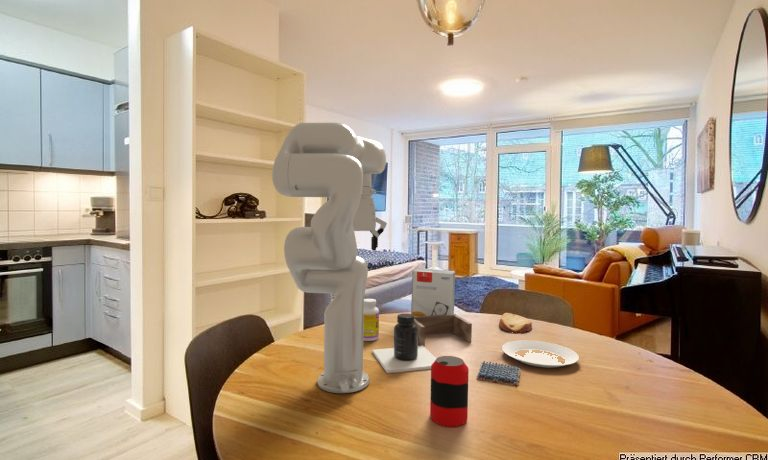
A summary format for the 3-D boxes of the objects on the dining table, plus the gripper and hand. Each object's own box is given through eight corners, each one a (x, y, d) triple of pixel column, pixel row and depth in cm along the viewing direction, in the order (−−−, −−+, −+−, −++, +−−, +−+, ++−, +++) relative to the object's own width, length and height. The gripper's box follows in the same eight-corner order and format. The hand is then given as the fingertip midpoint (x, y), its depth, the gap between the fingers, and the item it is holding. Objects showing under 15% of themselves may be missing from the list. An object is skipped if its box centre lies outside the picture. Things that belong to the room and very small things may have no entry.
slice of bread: (510, 317, 165) (510, 308, 165) (548, 328, 150) (549, 318, 150) (477, 323, 156) (478, 313, 156) (514, 335, 141) (514, 325, 141)
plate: (503, 368, 111) (503, 360, 111) (500, 344, 131) (500, 337, 131) (586, 377, 106) (587, 368, 106) (570, 350, 126) (570, 343, 126)
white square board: (443, 367, 111) (443, 364, 111) (387, 373, 106) (387, 370, 106) (422, 348, 126) (422, 345, 126) (372, 352, 122) (372, 349, 122)
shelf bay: (471, 341, 133) (471, 323, 132) (421, 345, 128) (421, 327, 128) (455, 330, 144) (455, 314, 144) (408, 334, 140) (408, 317, 139)
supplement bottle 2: (403, 351, 121) (403, 311, 120) (422, 356, 116) (423, 315, 116) (388, 357, 115) (389, 315, 115) (408, 363, 111) (408, 320, 110)
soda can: (422, 417, 84) (423, 360, 83) (444, 405, 89) (446, 351, 89) (452, 432, 78) (454, 371, 78) (474, 418, 84) (476, 361, 83)
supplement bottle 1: (378, 342, 131) (378, 302, 131) (357, 341, 131) (358, 302, 131) (379, 335, 138) (379, 298, 137) (359, 335, 138) (359, 297, 137)
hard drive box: (410, 323, 153) (411, 270, 152) (414, 318, 161) (415, 268, 160) (451, 327, 149) (452, 273, 148) (454, 321, 156) (455, 270, 155)
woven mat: (521, 372, 109) (521, 365, 109) (519, 388, 99) (519, 380, 99) (481, 366, 113) (481, 359, 113) (475, 381, 103) (475, 373, 103)
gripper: (383, 194, 127) (382, 248, 128) (327, 192, 122) (327, 249, 123) (390, 193, 120) (389, 251, 121) (331, 191, 115) (331, 252, 116)
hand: (358, 250), depth 122 cm, fingers open, 9 cm apart
